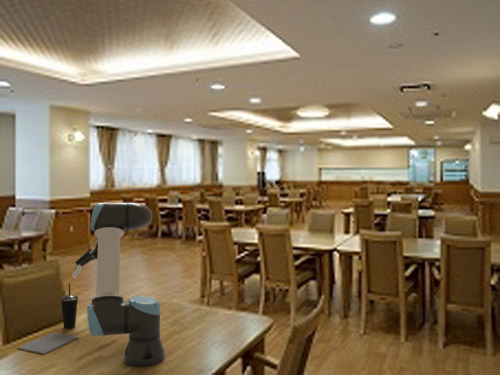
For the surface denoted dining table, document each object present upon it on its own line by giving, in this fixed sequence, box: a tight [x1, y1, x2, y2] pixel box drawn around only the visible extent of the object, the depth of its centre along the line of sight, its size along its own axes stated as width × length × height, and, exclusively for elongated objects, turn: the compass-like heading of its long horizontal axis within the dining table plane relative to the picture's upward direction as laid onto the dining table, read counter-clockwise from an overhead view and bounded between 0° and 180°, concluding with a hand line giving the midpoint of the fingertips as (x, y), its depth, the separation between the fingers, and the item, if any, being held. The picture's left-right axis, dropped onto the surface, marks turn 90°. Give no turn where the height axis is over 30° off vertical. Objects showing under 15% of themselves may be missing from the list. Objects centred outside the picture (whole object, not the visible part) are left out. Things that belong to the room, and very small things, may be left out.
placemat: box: [17, 331, 79, 355], centre depth 180 cm, size 14×18×1 cm
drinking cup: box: [59, 283, 79, 330], centre depth 198 cm, size 8×8×20 cm
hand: (84, 278), depth 208 cm, fingers open, 13 cm apart
